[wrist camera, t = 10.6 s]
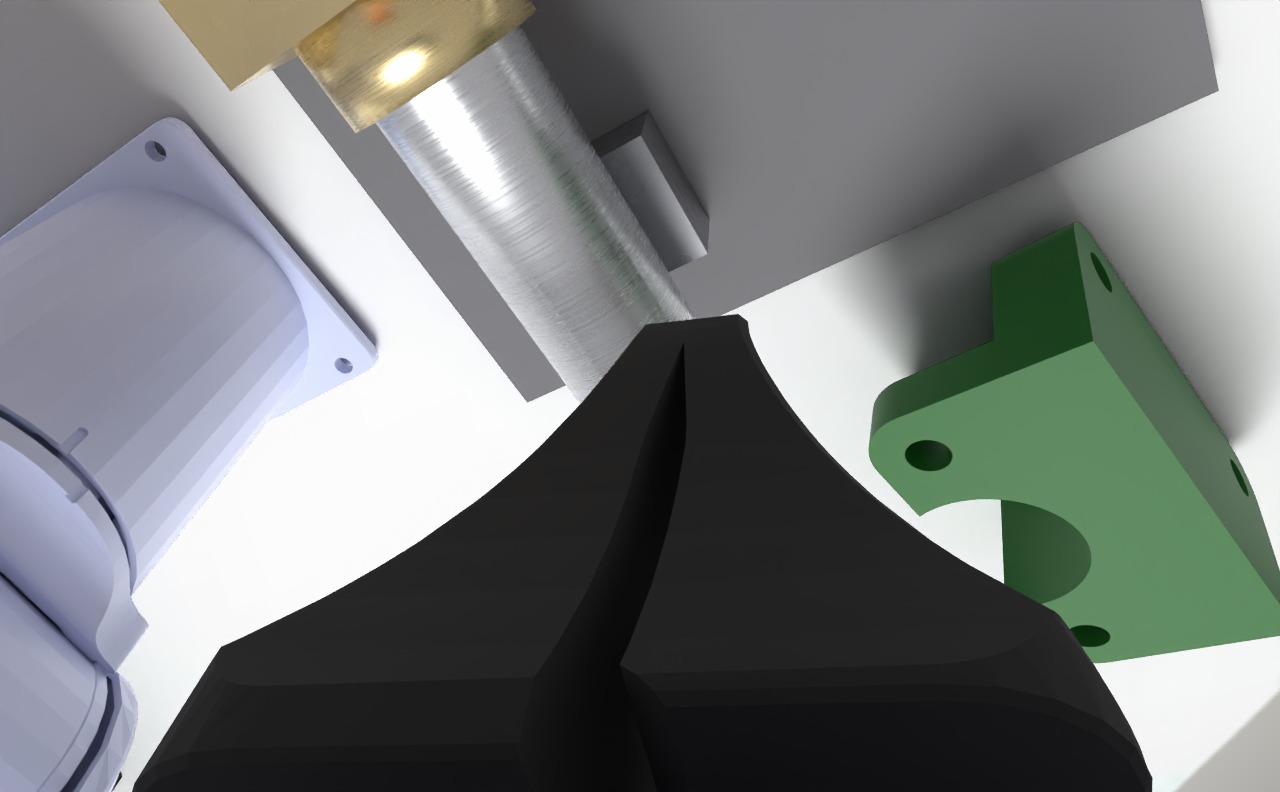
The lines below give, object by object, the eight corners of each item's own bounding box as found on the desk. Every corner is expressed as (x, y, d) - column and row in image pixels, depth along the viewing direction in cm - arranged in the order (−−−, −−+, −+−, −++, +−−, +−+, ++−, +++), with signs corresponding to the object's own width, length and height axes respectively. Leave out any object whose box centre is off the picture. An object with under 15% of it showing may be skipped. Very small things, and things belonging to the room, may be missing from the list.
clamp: (906, 283, 26) (811, 377, 19) (1091, 190, 22) (1052, 266, 16) (1078, 584, 26) (1043, 775, 20) (1282, 540, 23) (1322, 754, 16)
